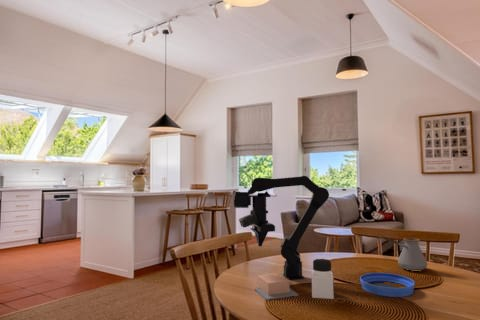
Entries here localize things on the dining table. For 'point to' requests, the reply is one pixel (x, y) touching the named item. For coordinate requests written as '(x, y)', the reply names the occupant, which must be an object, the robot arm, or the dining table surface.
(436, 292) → the dining table surface
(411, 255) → the coffee pot
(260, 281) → the terracotta block
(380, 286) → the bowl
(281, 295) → the mat
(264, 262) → the dining table surface
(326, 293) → the medicine bottle
